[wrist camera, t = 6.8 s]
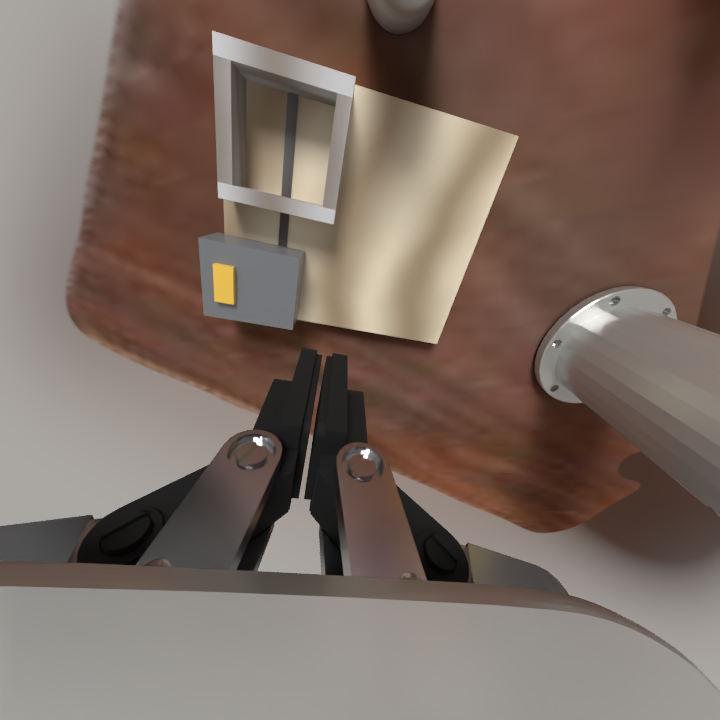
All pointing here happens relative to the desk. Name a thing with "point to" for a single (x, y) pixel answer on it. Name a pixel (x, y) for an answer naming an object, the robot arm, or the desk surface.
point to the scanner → (250, 280)
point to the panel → (352, 187)
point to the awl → (400, 14)
